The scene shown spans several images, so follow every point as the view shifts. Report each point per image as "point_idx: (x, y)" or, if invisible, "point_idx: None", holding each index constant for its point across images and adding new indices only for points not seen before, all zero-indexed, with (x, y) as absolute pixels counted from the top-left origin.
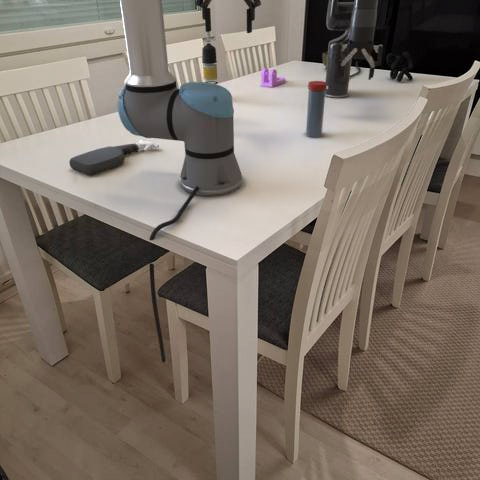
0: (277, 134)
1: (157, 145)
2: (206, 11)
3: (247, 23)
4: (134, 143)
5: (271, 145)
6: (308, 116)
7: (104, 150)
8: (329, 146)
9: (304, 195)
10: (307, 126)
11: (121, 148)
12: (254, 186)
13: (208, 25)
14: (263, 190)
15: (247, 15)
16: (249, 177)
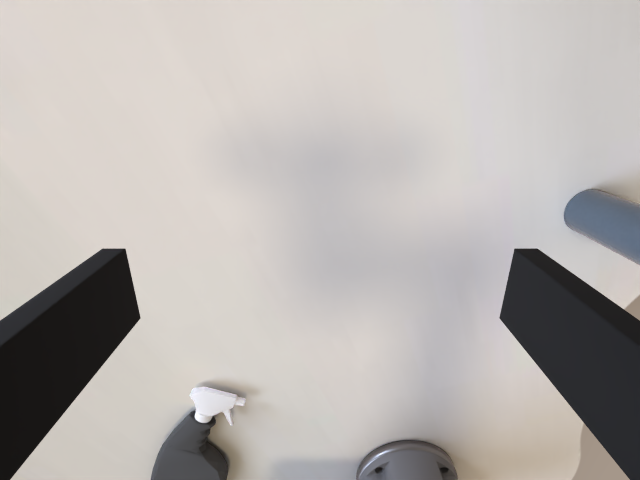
0: (484, 233)
1: (243, 403)
2: (7, 474)
3: (550, 371)
4: (199, 421)
5: (478, 308)
6: (606, 246)
7: (175, 468)
8: (619, 278)
9: (553, 471)
10: (584, 233)
11: (195, 449)
12: (474, 466)
13: (109, 332)
14: (490, 472)
15: (606, 435)
16: (460, 444)
